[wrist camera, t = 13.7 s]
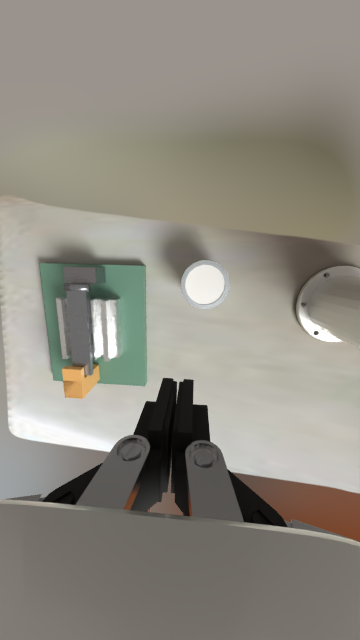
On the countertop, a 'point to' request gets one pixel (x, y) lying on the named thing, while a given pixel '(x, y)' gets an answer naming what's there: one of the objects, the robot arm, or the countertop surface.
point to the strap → (80, 325)
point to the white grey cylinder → (205, 284)
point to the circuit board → (132, 292)
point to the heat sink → (93, 316)
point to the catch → (79, 381)
